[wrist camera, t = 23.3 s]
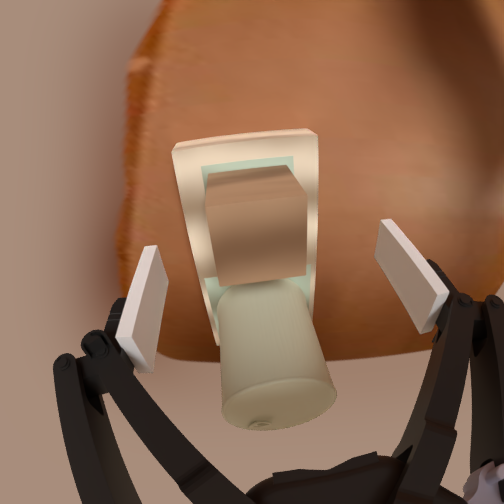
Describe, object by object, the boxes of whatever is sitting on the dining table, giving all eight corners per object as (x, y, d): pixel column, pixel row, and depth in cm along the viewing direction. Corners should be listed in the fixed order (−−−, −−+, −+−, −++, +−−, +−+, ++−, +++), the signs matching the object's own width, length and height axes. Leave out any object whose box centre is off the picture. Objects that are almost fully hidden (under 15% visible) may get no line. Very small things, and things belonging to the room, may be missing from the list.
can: (201, 322, 31) (201, 427, 21) (247, 259, 27) (266, 375, 17) (272, 346, 34) (290, 438, 24) (323, 294, 30) (362, 393, 20)
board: (176, 142, 23) (171, 151, 21) (307, 128, 23) (318, 135, 21) (216, 326, 35) (216, 345, 33) (305, 314, 36) (311, 332, 33)
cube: (207, 173, 22) (204, 207, 17) (286, 164, 22) (307, 195, 17) (218, 240, 25) (219, 286, 20) (288, 231, 25) (306, 275, 21)
